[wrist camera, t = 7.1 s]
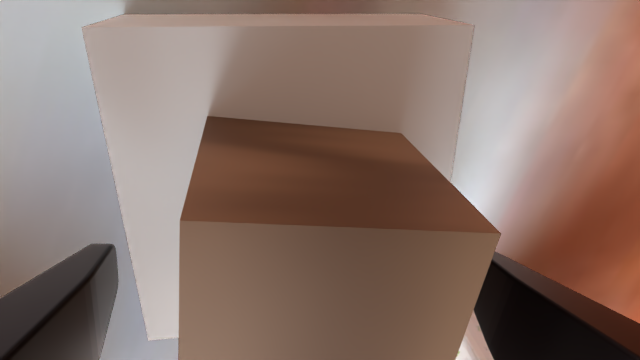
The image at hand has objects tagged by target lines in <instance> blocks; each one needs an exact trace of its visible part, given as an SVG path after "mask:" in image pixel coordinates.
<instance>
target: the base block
mask: <svg viewBox="0 0 640 360" xmlns="http://www.w3.org/2000/svg"><path fill="white" fill-rule="evenodd" d="M473 31H474V25H472V24H467V23H462V22H458V21H453V20H448V19H443V18H439V17H434V16H429V15H424V14H123V15H119V16H116V17H113V18H110V19H107V20H103V21H100V22H97V23H94V24H90V25H87V26H84V27H82V32H83V37H84V41H85V46H86V51H87V55H88V60H89V65H90V69H91V74H92V79H93V83H94V88H95V93H96V97H97V102H98V107H99V111H100V116H101V121H102V126H103V130H104V135H105V140H106V144H107V149H108V154H109V158H110V163H111V168H112V172H113V177H114V182H115V186H116V191H117V196H118V201H119V205H120V210H121V215H122V219H123V224H124V229H125V233H126V238H127V243H128V247H129V252H130V257H131V261H132V266H133V271H134V275H135V280H136V285H137V290H138V294H139V299H140V304H141V308H142V313H143V318H144V322H145V327H146V332H147V336H148V341H151V340H160V339H170V338H179V236H180V217H181V214H182V210H183V206H184V202H185V198H186V195H187V191H188V187H189V183H190V180H191V176H192V172H193V168H194V164H195V161H196V157H197V153H198V149H199V146H200V142H201V138H202V134H203V130H204V127H205V123H206V119H207V116H213V117H225V118H236V119H247V120H259V121H270V122H282V123H293V124H304V125H316V126H327V127H338V128H350V129H361V130H372V131H384V132H395V133H402V134H403V135H404V136H405V137H406V138H407V139H408V140H409V141H410V142H411V143H412V144H413V145H414V146H415V147H416V148H417V149H418V150H419V151H420V153H421V154H422V155H423V156H424V157H425V158H426V159H427V160H428V161H429V162H430V163H431V164H432V165H433V166H434V167H435V168H436V169H437V170H438V171H439V172H440V173H441V174H442V175H443V176H444V177H445V178H446V179H447V180H448V181H449V182H450V181H451V175H452V168H453V162H454V155H455V149H456V142H457V136H458V129H459V123H460V116H461V109H462V103H463V96H464V90H465V83H466V77H467V70H468V64H469V57H470V51H471V44H472V38H473Z"/></svg>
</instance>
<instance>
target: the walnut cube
mask: <svg viewBox="0 0 640 360" xmlns="http://www.w3.org/2000/svg"><path fill="white" fill-rule="evenodd" d="M500 235H501V233H500V232H499V231H498V230H497V229H496V228H495V227H494V226H493V225H492V224H491V223H490V222H489V221H488V220H487V219H486V218H485V217H484V216H483V215H482V214H481V213H480V212H479V211H478V210H477V209H476V208H475V207H474V206H473V205H472V204H471V203H470V202H469V201H468V200H467V199H466V198H465V197H464V196H463V195H462V194H461V193H460V192H459V191H458V190H457V189H456V188H455V187H454V186H453V185H452V184H451V183H450V182H449V181H448V180H447V179H446V178H445V177H444V176H443V175H442V174H441V173H440V172H439V171H438V170H437V169H436V168H435V167H434V166H433V165H432V164H431V163H430V162H429V161H428V160H427V159H426V158H425V157H424V156H423V155H422V154H421V153H420V151H419V150H418V149H417V148H416V147H415V146H414V145H413V144H412V143H411V142H410V141H409V140H408V139H407V138H406V137H405V136H404V135H403V134H402V133H395V132H384V131H372V130H361V129H350V128H338V127H327V126H316V125H304V124H293V123H282V122H270V121H259V120H247V119H236V118H225V117H213V116H207V119H206V123H205V127H204V130H203V134H202V138H201V142H200V146H199V149H198V153H197V157H196V161H195V164H194V168H193V172H192V176H191V180H190V183H189V187H188V191H187V195H186V198H185V202H184V206H183V210H182V214H181V217H180V236H179V351H178V360H455V359H456V357H457V354H458V351H459V348H460V346H461V343H462V340H463V337H464V335H465V332H466V329H467V326H468V324H469V321H470V318H471V315H472V313H473V310H474V307H475V304H476V301H477V299H478V296H479V293H480V290H481V288H482V285H483V282H484V279H485V277H486V274H487V271H488V268H489V266H490V263H491V260H492V257H493V255H494V252H495V249H496V246H497V244H498V241H499V238H500Z"/></svg>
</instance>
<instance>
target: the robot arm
mask: <svg viewBox="0 0 640 360" xmlns="http://www.w3.org/2000/svg"><path fill="white" fill-rule="evenodd" d="M117 289H118V268H117V255H116V248H115V246H114V245H113V244H90V245H88V246H87V247H85V248H83V249H82V250H80V251H78V252H77V253H75V254H73V255H72V256H70V257H68V258H67V259H65V260H63V261H62V262H60V263H58V264H57V265H55V266H53V267H52V268H50V269H48V270H47V271H45V272H43V273H42V274H40V275H38V276H37V277H35V278H33V279H32V280H30V281H28V282H27V283H25V284H23V285H22V286H20V287H18V288H16V289H15V290H13V291H11V292H10V293H8V294H6V295H5V296H3V297H1V298H0V360H99V359H100V355H101V352H102V348H103V344H104V340H105V336H106V332H107V328H108V325H109V321H110V317H111V313H112V309H113V305H114V301H115V297H116V293H117ZM473 311H474V313H475V316H476V319H477V321H478V324H479V326H480V329H481V332H482V334H483V337H484V339H485V342H486V344H487V346H488V349H489V351H490V353H491V355H492V357H493V359H494V360H640V324H639V323H637V322H635V321H633V320H631V319H629V318H627V317H625V316H623V315H621V314H619V313H617V312H615V311H613V310H611V309H609V308H607V307H605V306H603V305H601V304H599V303H597V302H595V301H593V300H591V299H589V298H587V297H585V296H583V295H581V294H579V293H577V292H575V291H573V290H571V289H569V288H567V287H565V286H563V285H561V284H559V283H557V282H555V281H553V280H551V279H549V278H547V277H545V276H543V275H541V274H539V273H537V272H535V271H533V270H531V269H529V268H527V267H525V266H523V265H521V264H519V263H517V262H515V261H513V260H511V259H509V258H507V257H505V256H503V255H501V254H499V253H497V252H494V255H493V257H492V260H491V263H490V266H489V268H488V271H487V274H486V277H485V279H484V282H483V285H482V288H481V290H480V293H479V296H478V299H477V301H476V304H475V307H474V310H473Z"/></svg>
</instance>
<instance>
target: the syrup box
mask: <svg viewBox="0 0 640 360" xmlns="http://www.w3.org/2000/svg"><path fill="white" fill-rule="evenodd" d="M455 360H494V359H493V357H492V355H491V353H490V351H489V349H488V346H487V344H486V342H485V339H484V337H483V334H482V332H481V329H480V326H479V324H478V321H477V319H476V316H475V313H474V311H473V313H472V315H471V318H470V321H469V324H468V326H467V329H466V332H465V335H464V337H463V340H462V343H461V346H460V348H459V351H458V354H457V357H456V359H455Z"/></svg>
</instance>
